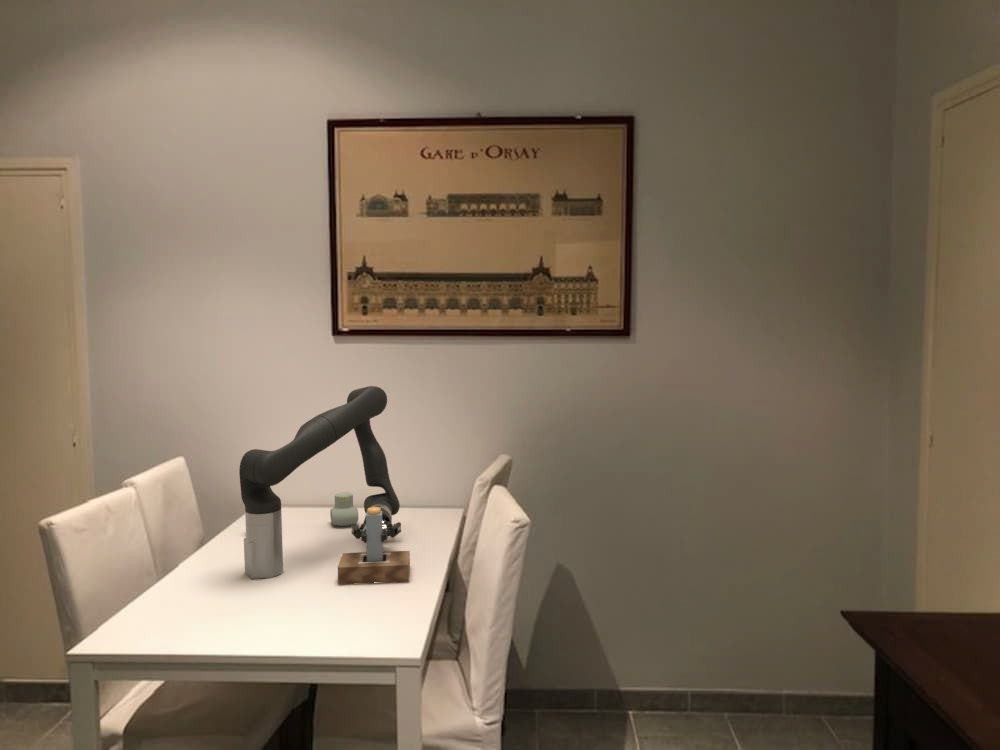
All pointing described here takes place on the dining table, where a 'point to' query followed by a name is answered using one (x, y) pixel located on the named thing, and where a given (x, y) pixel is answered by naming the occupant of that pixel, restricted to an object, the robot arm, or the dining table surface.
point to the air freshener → (344, 510)
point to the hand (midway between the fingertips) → (373, 538)
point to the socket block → (374, 568)
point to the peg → (374, 534)
